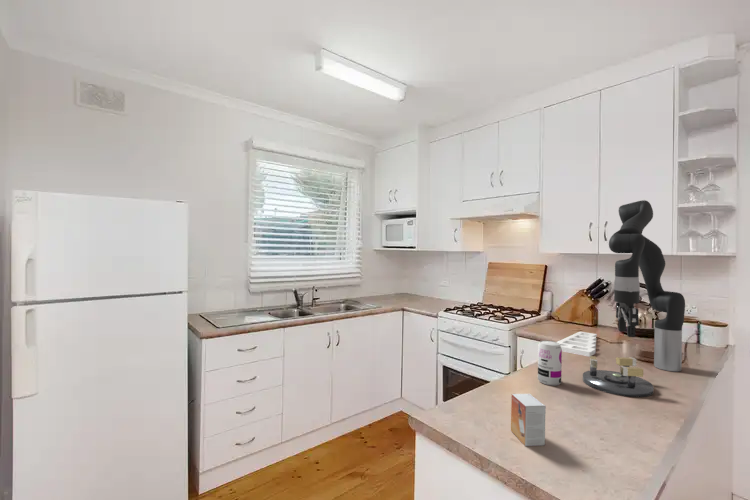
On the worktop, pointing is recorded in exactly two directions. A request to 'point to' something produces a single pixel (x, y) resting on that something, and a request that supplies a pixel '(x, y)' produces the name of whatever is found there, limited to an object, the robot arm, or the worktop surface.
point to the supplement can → (549, 362)
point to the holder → (579, 344)
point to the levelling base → (617, 384)
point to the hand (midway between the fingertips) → (626, 334)
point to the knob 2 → (631, 374)
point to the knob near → (626, 361)
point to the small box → (528, 419)
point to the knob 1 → (593, 366)
